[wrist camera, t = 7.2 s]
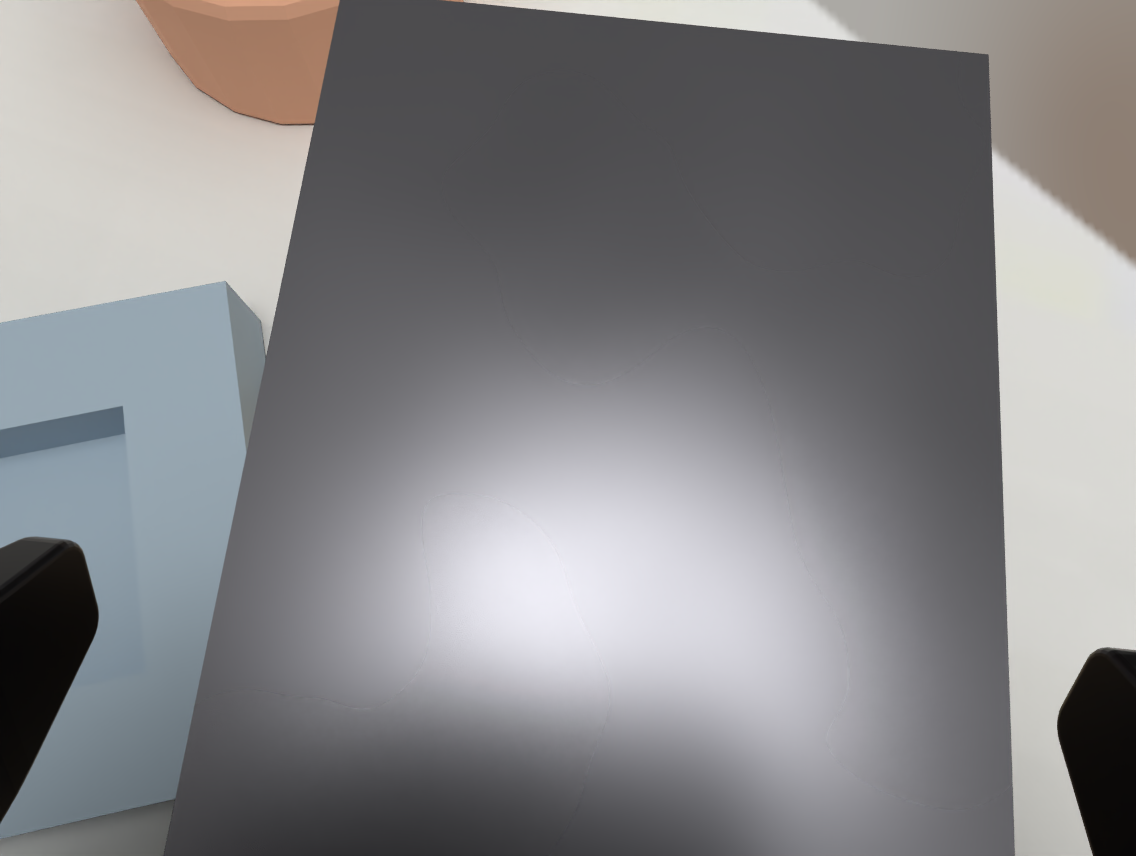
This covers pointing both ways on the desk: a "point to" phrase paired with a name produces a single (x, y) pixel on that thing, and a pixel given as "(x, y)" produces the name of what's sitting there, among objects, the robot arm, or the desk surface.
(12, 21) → the desk surface
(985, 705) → the grey hook block
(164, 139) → the desk surface
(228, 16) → the salt shaker
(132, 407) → the square socket block
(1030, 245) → the desk surface
